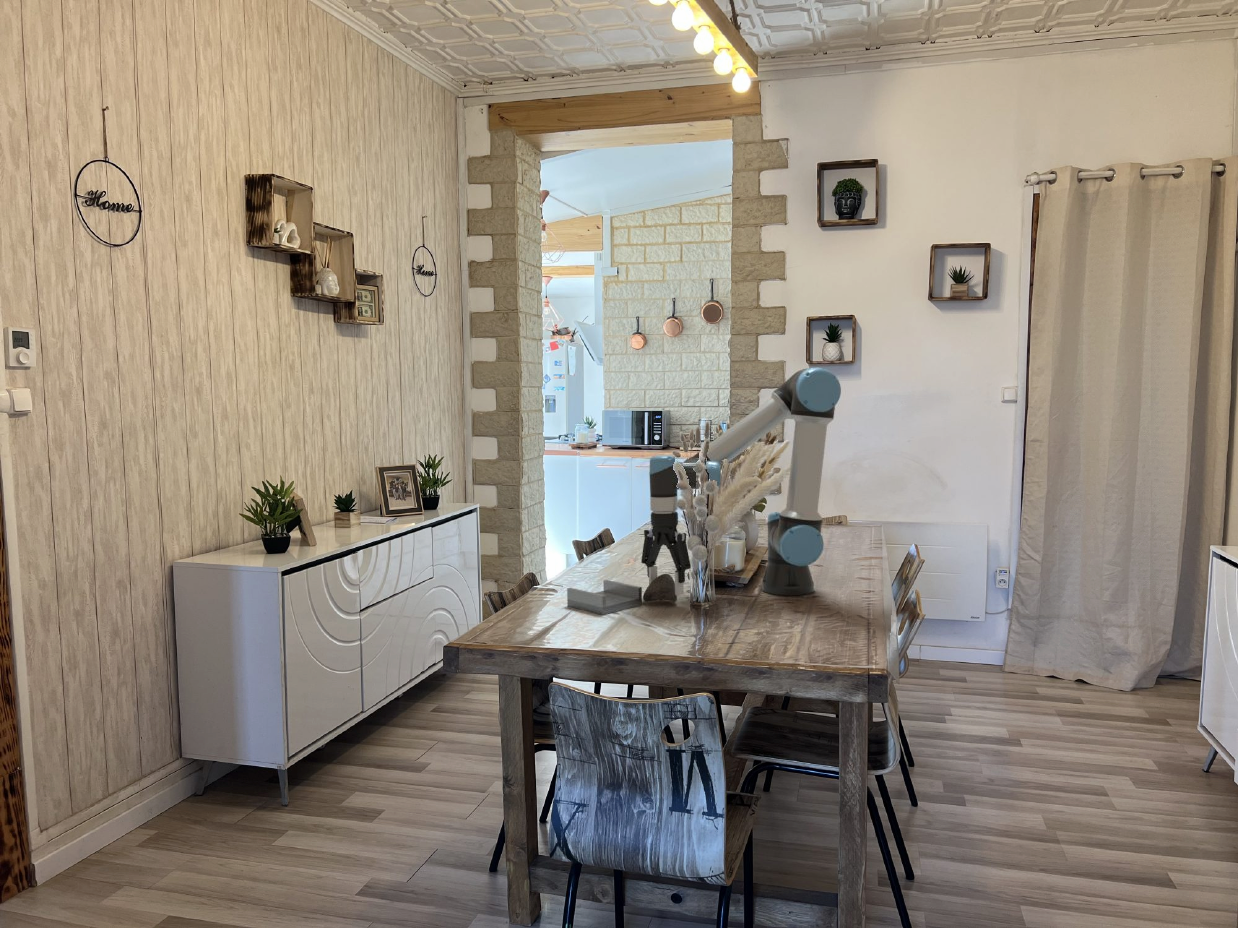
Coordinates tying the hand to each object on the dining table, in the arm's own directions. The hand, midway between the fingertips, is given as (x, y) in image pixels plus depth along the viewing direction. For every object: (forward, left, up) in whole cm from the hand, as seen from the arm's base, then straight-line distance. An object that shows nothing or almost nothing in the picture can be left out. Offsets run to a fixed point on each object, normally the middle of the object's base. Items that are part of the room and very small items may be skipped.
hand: (666, 591), depth 250 cm
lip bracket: (+10, +14, -3) cm, 18 cm away
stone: (+1, +1, -2) cm, 3 cm away
